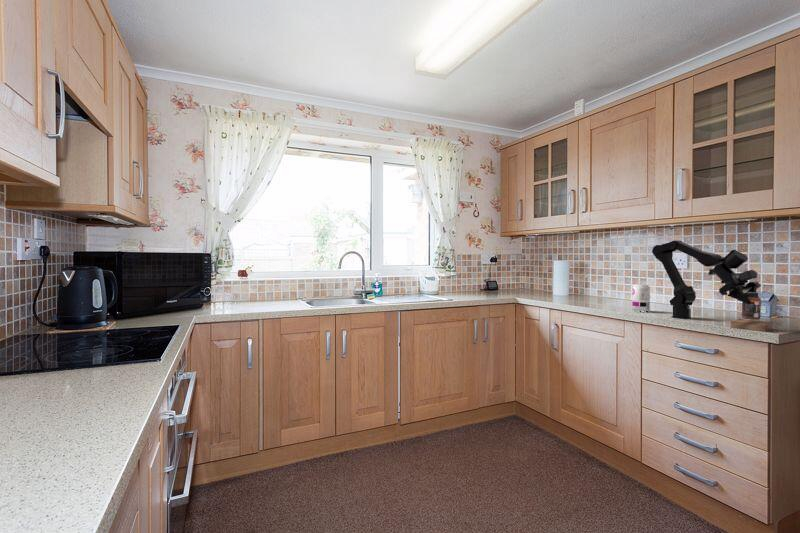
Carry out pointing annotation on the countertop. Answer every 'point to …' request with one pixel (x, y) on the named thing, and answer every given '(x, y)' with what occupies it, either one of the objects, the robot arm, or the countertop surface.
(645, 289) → the supplement can
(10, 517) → the countertop surface
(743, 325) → the trivet
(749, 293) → the supplement bottle
